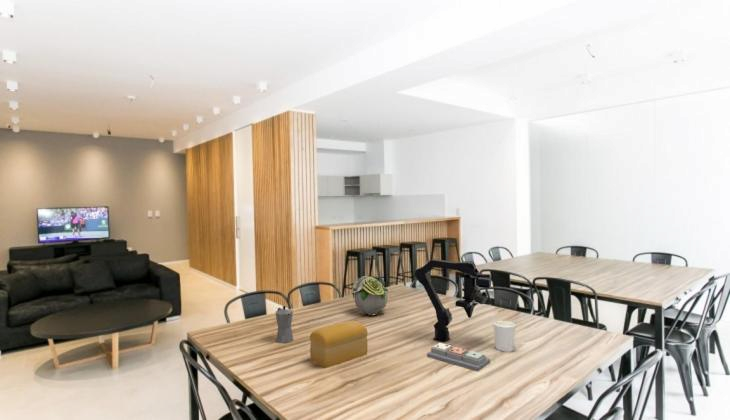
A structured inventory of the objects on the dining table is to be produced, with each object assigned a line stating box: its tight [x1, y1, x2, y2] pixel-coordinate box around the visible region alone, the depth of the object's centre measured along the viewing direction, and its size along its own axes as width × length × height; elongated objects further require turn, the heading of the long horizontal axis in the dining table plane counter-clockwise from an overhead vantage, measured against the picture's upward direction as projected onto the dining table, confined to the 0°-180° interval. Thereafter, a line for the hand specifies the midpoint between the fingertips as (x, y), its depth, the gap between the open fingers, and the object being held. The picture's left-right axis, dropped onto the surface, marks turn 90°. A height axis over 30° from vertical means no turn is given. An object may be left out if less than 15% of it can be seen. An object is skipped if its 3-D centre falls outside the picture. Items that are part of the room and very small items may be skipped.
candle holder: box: [493, 320, 516, 353], centre depth 191 cm, size 10×10×12 cm
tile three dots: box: [449, 346, 468, 356], centre depth 179 cm, size 6×6×3 cm
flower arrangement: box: [350, 275, 389, 316], centre depth 253 cm, size 25×25×24 cm
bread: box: [309, 320, 369, 369], centre depth 183 cm, size 24×13×15 cm, turn 130°
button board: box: [426, 346, 491, 372], centre depth 179 cm, size 25×12×4 cm, turn 49°
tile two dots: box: [432, 342, 452, 351], centre depth 184 cm, size 6×6×3 cm
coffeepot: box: [275, 305, 294, 344], centre depth 208 cm, size 15×9×18 cm, turn 33°
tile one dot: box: [465, 350, 485, 360], centre depth 173 cm, size 6×6×3 cm
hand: (469, 317), depth 198 cm, fingers closed
